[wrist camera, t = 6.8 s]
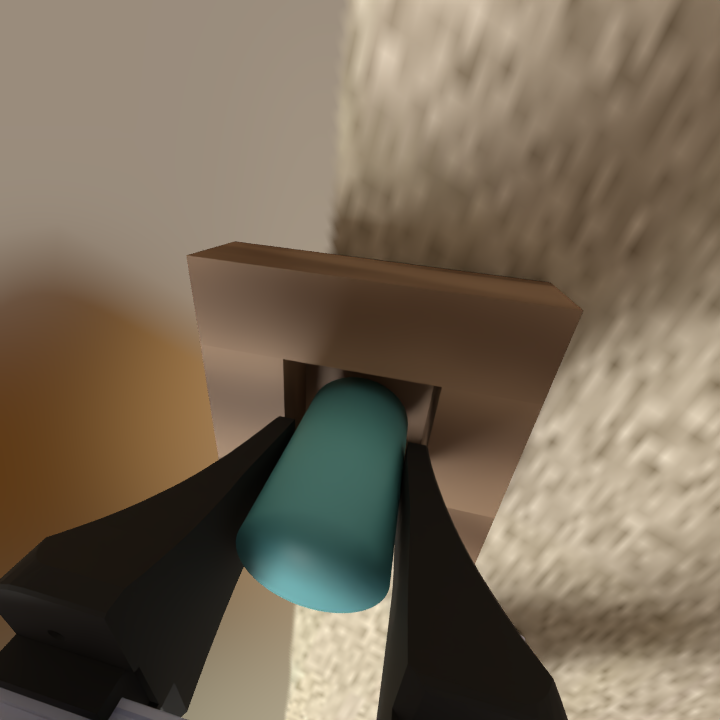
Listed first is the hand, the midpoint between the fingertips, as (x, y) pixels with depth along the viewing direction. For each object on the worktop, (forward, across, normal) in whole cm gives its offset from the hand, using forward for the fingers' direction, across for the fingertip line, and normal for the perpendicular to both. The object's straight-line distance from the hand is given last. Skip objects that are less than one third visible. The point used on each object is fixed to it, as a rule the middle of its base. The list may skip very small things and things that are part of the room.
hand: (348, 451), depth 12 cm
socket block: (+4, 0, 0) cm, 4 cm away
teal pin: (+2, 0, 0) cm, 2 cm away
